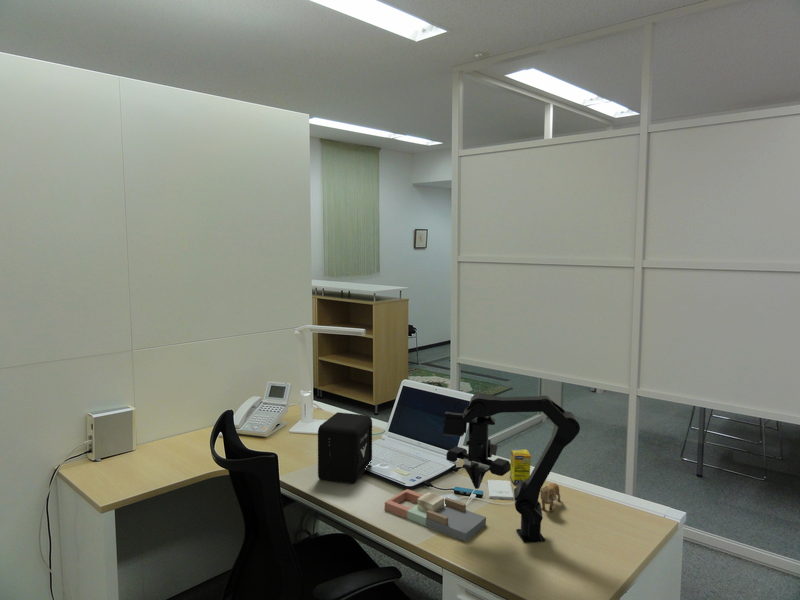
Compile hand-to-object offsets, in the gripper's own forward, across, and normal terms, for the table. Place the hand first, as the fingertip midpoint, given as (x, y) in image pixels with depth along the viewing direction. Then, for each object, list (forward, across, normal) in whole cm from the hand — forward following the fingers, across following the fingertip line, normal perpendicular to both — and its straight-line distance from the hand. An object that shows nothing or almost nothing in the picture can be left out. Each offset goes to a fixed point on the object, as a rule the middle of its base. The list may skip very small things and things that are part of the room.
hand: (477, 488), depth 157 cm
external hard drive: (+14, +6, -28) cm, 32 cm away
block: (+10, +16, +1) cm, 19 cm away
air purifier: (+13, +58, -6) cm, 60 cm away
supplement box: (+13, +4, -40) cm, 42 cm away
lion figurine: (+13, -12, -28) cm, 33 cm away
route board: (+13, +14, +1) cm, 19 cm away
